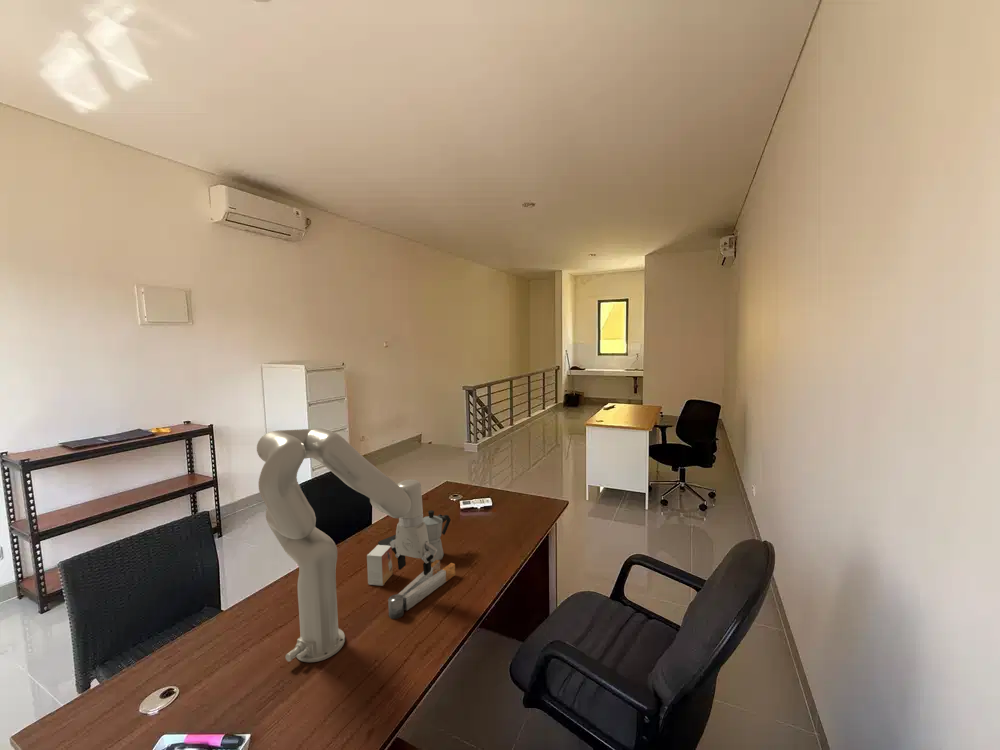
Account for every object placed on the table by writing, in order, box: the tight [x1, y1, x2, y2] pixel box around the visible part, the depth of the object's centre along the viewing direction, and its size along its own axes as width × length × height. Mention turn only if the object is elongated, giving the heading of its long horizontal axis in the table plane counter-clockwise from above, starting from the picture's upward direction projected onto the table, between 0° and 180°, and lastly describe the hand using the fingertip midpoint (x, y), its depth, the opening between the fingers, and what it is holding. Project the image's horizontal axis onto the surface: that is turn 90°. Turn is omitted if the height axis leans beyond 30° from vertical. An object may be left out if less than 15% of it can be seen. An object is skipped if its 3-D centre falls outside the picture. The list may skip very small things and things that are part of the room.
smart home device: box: [377, 534, 396, 549], centre depth 181 cm, size 8×2×20 cm
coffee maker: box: [420, 509, 452, 563], centre depth 165 cm, size 15×9×18 cm, turn 131°
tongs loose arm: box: [403, 562, 456, 612], centre depth 142 cm, size 23×2×4 cm, turn 147°
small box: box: [366, 544, 394, 586], centre depth 150 cm, size 8×6×10 cm
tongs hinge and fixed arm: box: [387, 560, 441, 620], centre depth 142 cm, size 28×4×5 cm, turn 157°
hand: (414, 570), depth 139 cm, fingers open, 9 cm apart
